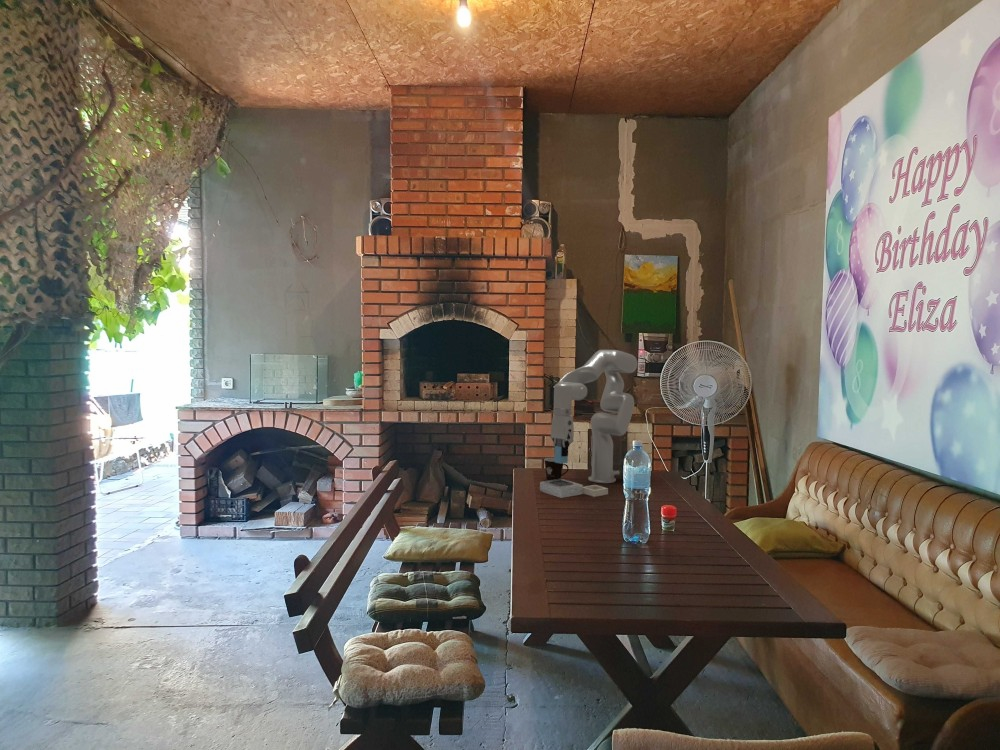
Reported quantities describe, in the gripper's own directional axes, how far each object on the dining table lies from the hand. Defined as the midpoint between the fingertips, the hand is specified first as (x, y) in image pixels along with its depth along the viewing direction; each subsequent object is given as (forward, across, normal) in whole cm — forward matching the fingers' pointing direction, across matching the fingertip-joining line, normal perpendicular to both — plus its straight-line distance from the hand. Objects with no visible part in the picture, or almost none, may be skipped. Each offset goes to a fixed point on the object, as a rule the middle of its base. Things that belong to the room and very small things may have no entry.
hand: (561, 454), depth 272 cm
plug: (+3, 0, 0) cm, 3 cm away
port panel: (+16, 0, -1) cm, 16 cm away
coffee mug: (+16, +17, -12) cm, 26 cm away
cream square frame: (+16, -9, -12) cm, 22 cm away
